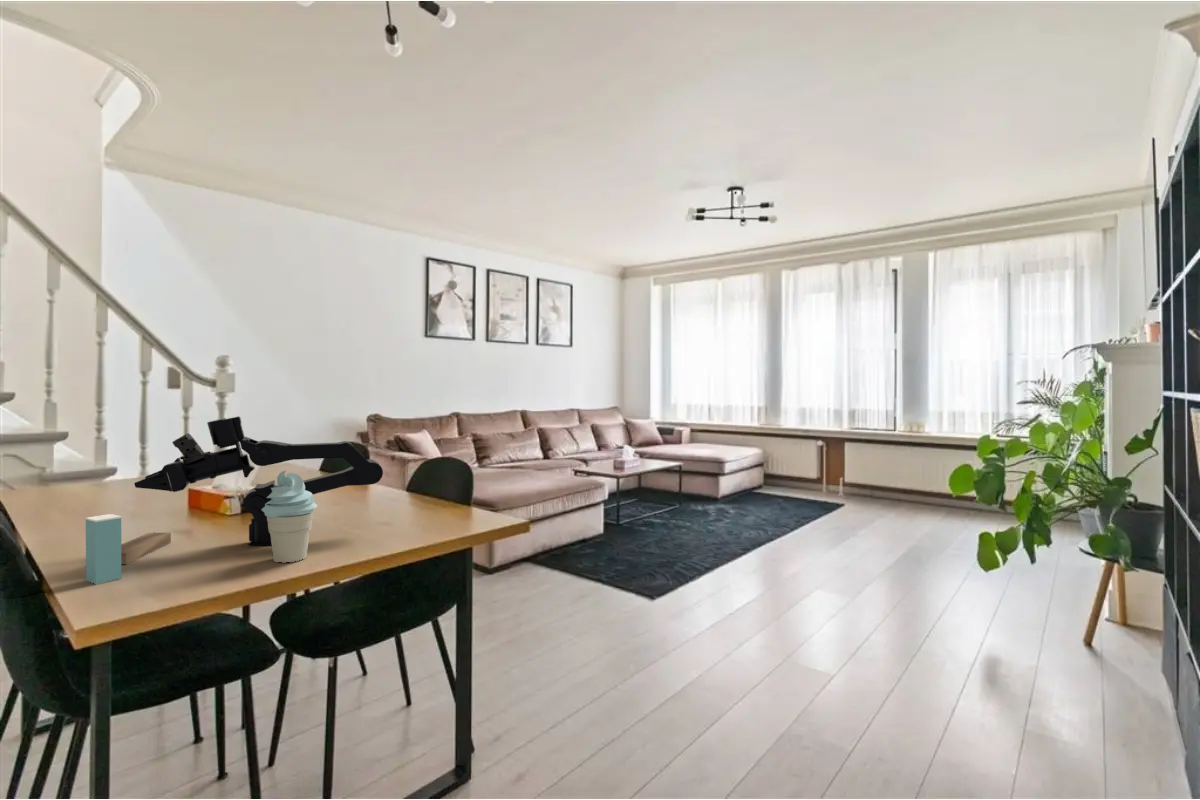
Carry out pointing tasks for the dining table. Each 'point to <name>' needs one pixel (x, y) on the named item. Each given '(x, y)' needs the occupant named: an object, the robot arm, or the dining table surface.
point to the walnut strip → (143, 546)
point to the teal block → (103, 548)
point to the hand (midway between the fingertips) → (140, 482)
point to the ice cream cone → (289, 518)
